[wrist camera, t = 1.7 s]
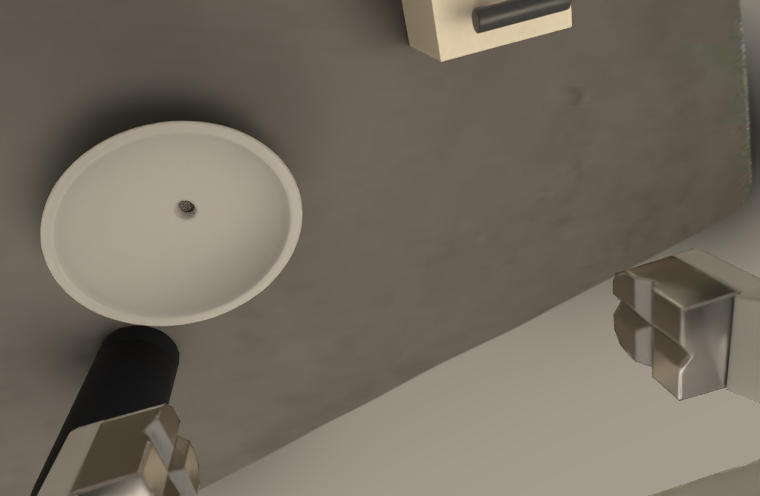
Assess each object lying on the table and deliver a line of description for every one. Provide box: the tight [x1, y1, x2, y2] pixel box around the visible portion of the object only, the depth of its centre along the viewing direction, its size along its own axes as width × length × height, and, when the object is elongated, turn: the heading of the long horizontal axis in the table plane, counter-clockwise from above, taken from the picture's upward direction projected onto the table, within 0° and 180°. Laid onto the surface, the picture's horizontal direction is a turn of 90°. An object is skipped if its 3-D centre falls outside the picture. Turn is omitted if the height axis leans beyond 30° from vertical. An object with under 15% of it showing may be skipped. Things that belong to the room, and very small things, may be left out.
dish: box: [40, 121, 302, 326], centre depth 37 cm, size 18×14×5 cm
